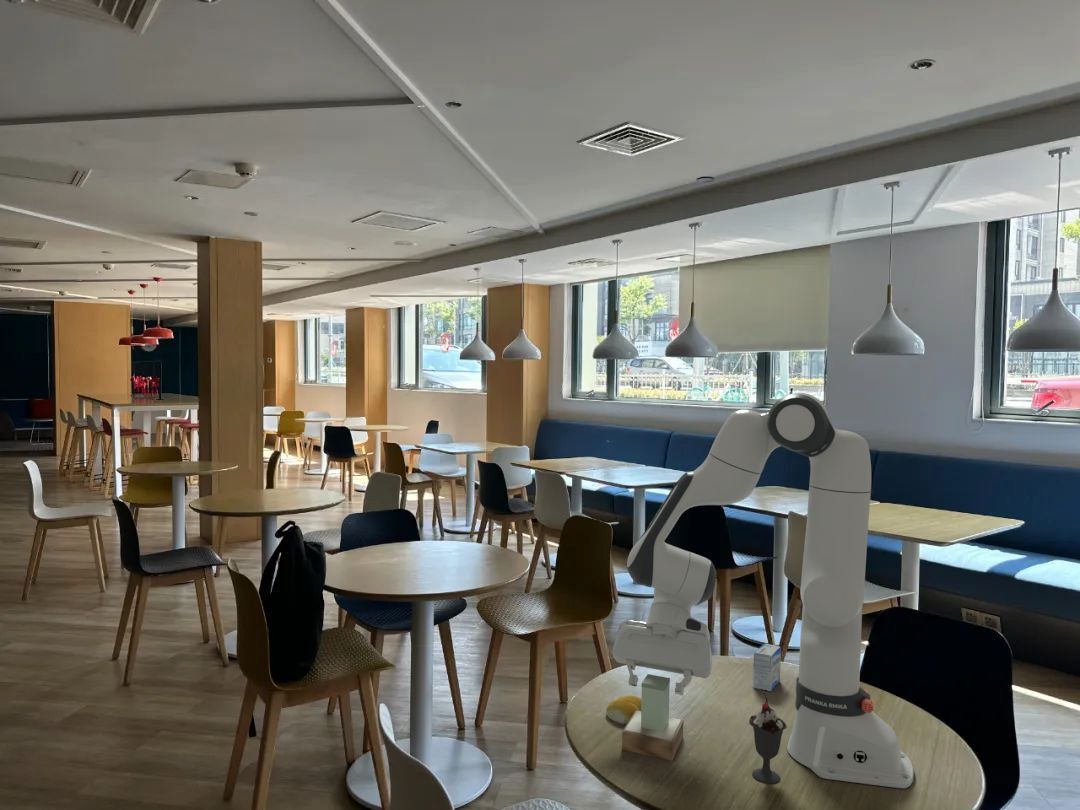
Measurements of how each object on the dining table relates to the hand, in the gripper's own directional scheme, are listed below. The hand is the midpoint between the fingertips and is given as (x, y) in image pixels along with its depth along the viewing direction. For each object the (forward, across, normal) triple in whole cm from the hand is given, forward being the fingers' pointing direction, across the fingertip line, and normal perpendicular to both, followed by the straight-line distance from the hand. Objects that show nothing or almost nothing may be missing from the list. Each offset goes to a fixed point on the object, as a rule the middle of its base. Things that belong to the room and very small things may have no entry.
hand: (655, 689), depth 146 cm
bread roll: (+2, -8, +14) cm, 17 cm away
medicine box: (-20, +18, +36) cm, 45 cm away
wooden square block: (+8, 0, +8) cm, 11 cm away
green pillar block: (+5, 0, +5) cm, 7 cm away
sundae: (+10, +22, +6) cm, 25 cm away
